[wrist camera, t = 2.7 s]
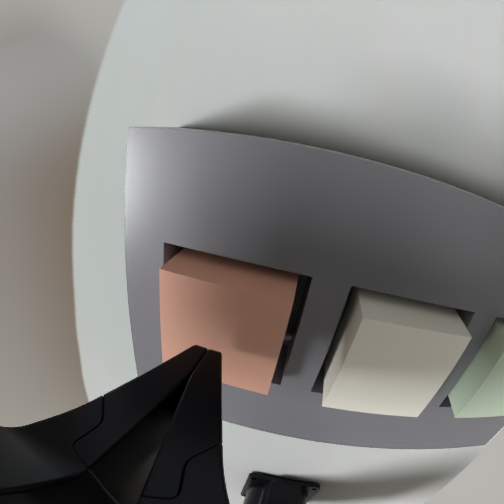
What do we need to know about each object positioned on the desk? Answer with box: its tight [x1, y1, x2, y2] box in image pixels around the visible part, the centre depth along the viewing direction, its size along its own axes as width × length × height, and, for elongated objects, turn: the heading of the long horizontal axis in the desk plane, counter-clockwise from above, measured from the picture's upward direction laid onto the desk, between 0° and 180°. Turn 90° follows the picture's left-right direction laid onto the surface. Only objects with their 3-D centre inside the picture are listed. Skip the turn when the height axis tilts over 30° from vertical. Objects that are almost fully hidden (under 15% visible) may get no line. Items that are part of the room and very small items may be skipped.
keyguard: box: [125, 127, 504, 449], centre depth 11 cm, size 12×20×4 cm, turn 82°
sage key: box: [448, 317, 504, 418], centre depth 8 cm, size 4×4×2 cm
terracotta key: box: [159, 247, 299, 395], centre depth 10 cm, size 4×4×2 cm
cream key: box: [322, 286, 472, 417], centre depth 9 cm, size 4×4×2 cm
